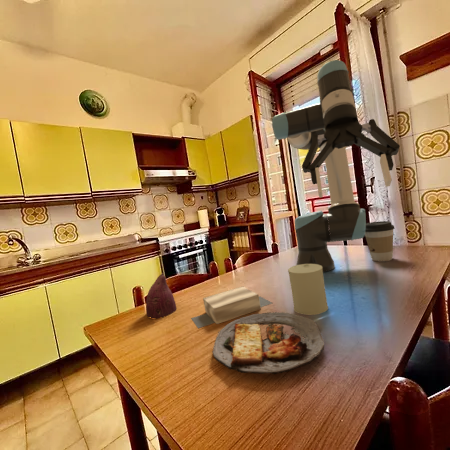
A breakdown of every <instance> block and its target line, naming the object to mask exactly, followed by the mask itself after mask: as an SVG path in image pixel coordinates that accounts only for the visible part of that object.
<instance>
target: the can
mask: <svg viewBox="0 0 450 450" xmlns="http://www.w3.org/2000/svg"><path fill="white" fill-rule="evenodd" d="M287 272H288V275H289V281H290V283H289V284H290V289H291V296H292V301H293V302H292V303H293V310H294V312H296V313H298V314H299V315H300V314H301V315H306V316H309V315H311V316H315V315H320V314H323V313H325V312H326V311H328V309H329V305H328V301H327V300H328V299H327V293H326V287H325V278H324V272H323V269H322V266H321V265H318V264H301V265H296V264H295V265H293V266H290V267H289V268H288V269H287Z"/></svg>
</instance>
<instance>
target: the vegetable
mask: <svg viewBox="0 0 450 450" xmlns="http://www.w3.org/2000/svg"><path fill="white" fill-rule="evenodd" d="M177 309H178V308H177V304H176V301H175V298H174V295H173V292H172V290H171V289H170V288H169V285H168V284H167V279H166V276H165V275H164V273H163V272H162V273H161V274H159V275H158V276H157V278H156V279H155V281H154V282H153V284H151V286H150V288H149V289H148V292H147V296H146V302H145V311H146V317H147V316H148V317H151V318H156V319H161V318H160V317H162V318H164V316H165V317H167V316H169V315H172V314H173V313H175V312H176V311H177ZM148 317H147V318H148Z"/></svg>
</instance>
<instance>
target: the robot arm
mask: <svg viewBox="0 0 450 450" xmlns="http://www.w3.org/2000/svg"><path fill="white" fill-rule="evenodd" d="M349 73H350V72H349V70H348V67H347V65H346V63H345V62H344V61H342V60H339V59H334V60H333V59H332V60H330V61H328V62H326V63H325V64H323V65H322V66H321V67H320V68H319V70H318V72H317V84H316V85H317V86H318V93H319V103H318V102H317V103H315V104H312V105H307V106H305V107H301V108H298V109H295V110H290V111H287V112H281V113H280V114H277V115H274V116H273V117H272V119H271V123H272V124H271V125H272V131H273V135H274V137H275V139H276V140H279V141H280V140H286V139H287V141H288V143H289V145H290V146H291V147H293V148H294V149H296V150H304V151H305V150H306V151H307V153H306V155H305V157H304V159H303V162H302V164H301V167H302V171H303V173H305V174H307V173H310V178H311V183H312V184H313V185H317V192H318V197H319V198H323V197H324V196H323V188H322V182H321V174H320V168H321V166H322V164H323V163H325V171H326V176H327V177H326V178H327V183H328V191H329V196H330V197H329V198H330V203H331V205H330V206H329V207H328V208H327V211H328V212H327V213H324V212H323V210H318V211H313V212H309V213H306V214H302V215H300V216H299V215H298V216H297V217H295V219H294V230H295V236H296V243H297V250H298V253H297V261H296V264H295V266H296V265H301V264H318V265H321V266H322V269H323V273H325V272H329V271H333V269H335V267H336V266H335V260H334V259H333V257H332V255H331V253H330V251H329V247H328V243H334V242H344V241H345V242H346V241H354V240H355V241H356V240H362V239H364V237H366V236H365V230H366V224H367V220H366V219H367V218H366V216H367V214H366V209H365V208H361V207H360V206H361V205H360V204H359V203H358V202H357V201H355V197H354V196H355V195H354V191H353V190H354V189H353V185H352V177H351V172H350V166H349V161H348V155H347V148H348V147H352V146H353V145H355V146H357V147H358V148H359V147H361V148H363V149H365V150H367V151H368V152H371V153H372V154H374V155H375V156H378V157H379V163H380V168H381V173H382V176H383V181H384V186H385V187H386V188H387V187H390V186H391V183H392V176H391V172H390V171H393V169H394V164H395V163H394V160H393V157H392V156H397V155H398V153H399V150H400V146H401V145H400V144H399V143H397V141H395V140H394V139H393V138H392V137H391V136H390V135H389V134H387V133H386V132H385V131H384V130H382V129H381V128H380V127H379V126H378V124H377V122H376V120H375V119H374V118H372V119H371V118H370V119H369V120H368V122H367V123H364V124H361V123H360V121H359V117H358V113H357V109H356V104H355V99H354V95H353V91H352V87H351V80H350V76H349ZM363 131H364V132H366V133H367V134H370V136H371V137H372V138H373V139H371V138H370V137H368V136H366V135H365V134H364V133H362V132H363ZM318 150H319V153H318V154H317V152H318ZM316 154H317V156H316ZM315 156H316V157H315Z"/></svg>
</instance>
